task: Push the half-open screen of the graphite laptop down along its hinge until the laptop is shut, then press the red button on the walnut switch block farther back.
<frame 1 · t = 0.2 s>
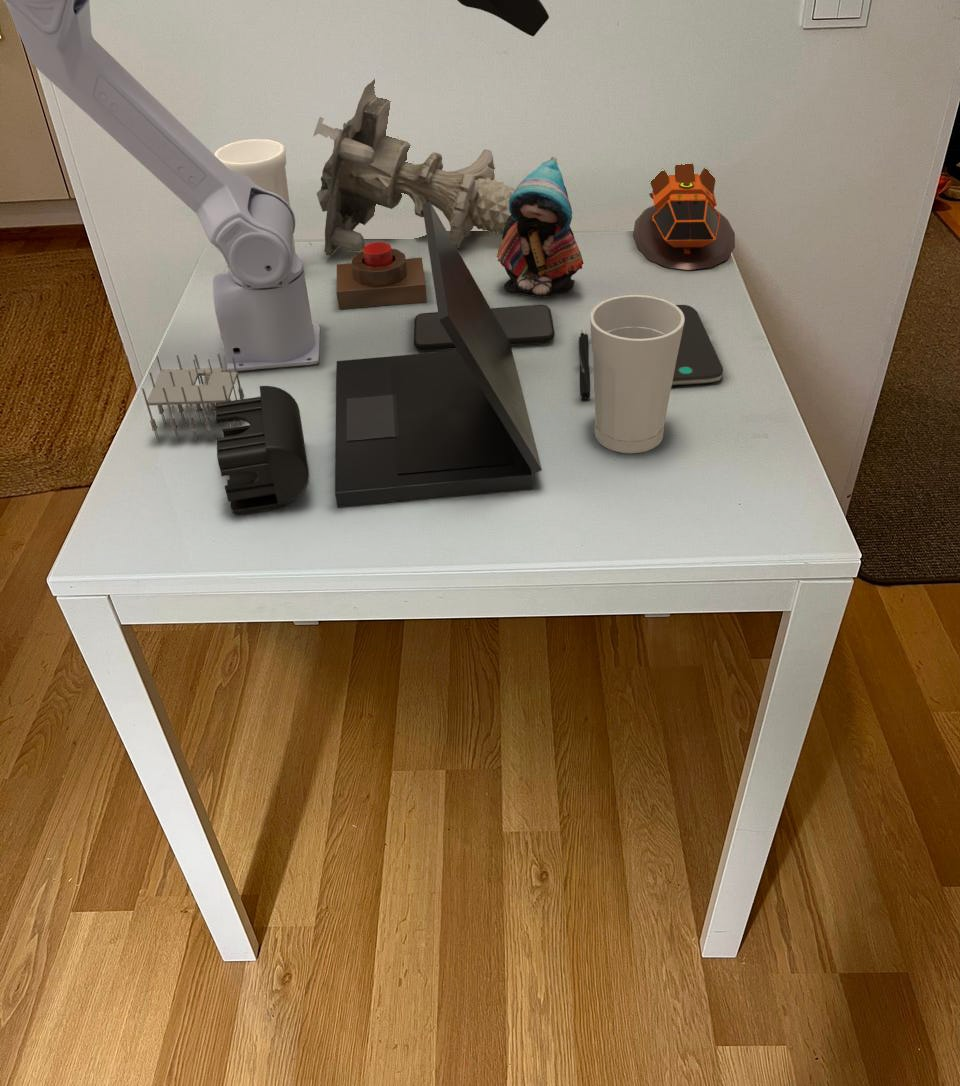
hand: (536, 12, 88), 31 cm above the table, tool tilted 45°, fingers open, 7 cm apart
end cap: (271, 480, 90), on the table
electrical cable: (584, 368, 102), on the table
laptop screen: (479, 333, 89), point 9 cm above the table, hinge at 65.0°
switch block: (382, 291, 116), on the table
figurine: (540, 294, 115), on the table
button: (378, 255, 113), point 4 cm above the table, slide at 0.1 cm
cup: (628, 435, 93), on the table
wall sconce: (414, 277, 124), on the table
smartphone 2: (672, 348, 104), on the table
toy spacecraft: (683, 235, 125), on the table
smartphone: (483, 332, 108), on the table
cup 2: (272, 272, 121), on the table
laptop: (427, 427, 95), on the table
building frame: (204, 425, 97), on the table
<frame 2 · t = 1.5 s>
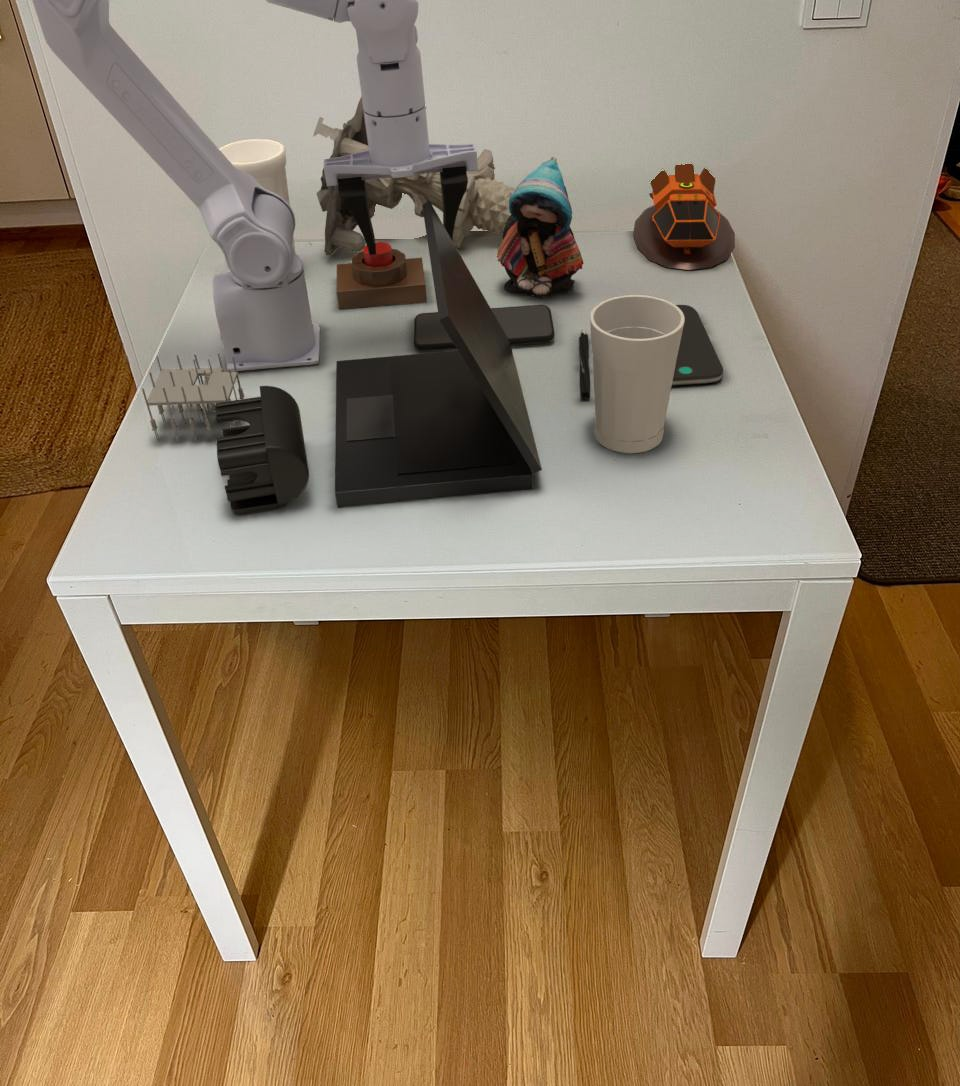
hand: (410, 246, 101), 10 cm above the table, tool pointing down, fingers open, 7 cm apart
nothing on the table moved.
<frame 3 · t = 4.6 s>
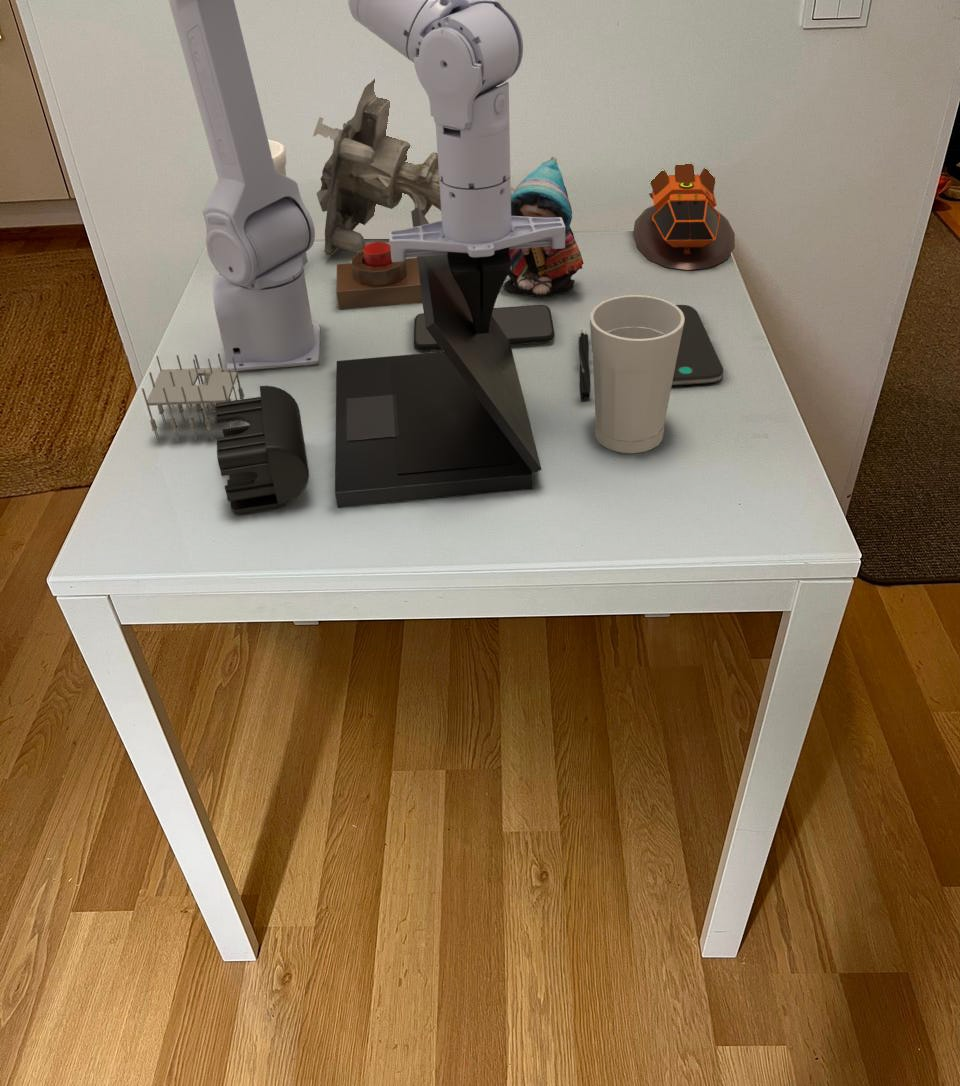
hand: (481, 328, 89), 10 cm above the table, tool pointing down, fingers closed
laptop screen: (473, 336, 89), point 9 cm above the table, hinge at 60.9°, touching gripper
everything else where it was.
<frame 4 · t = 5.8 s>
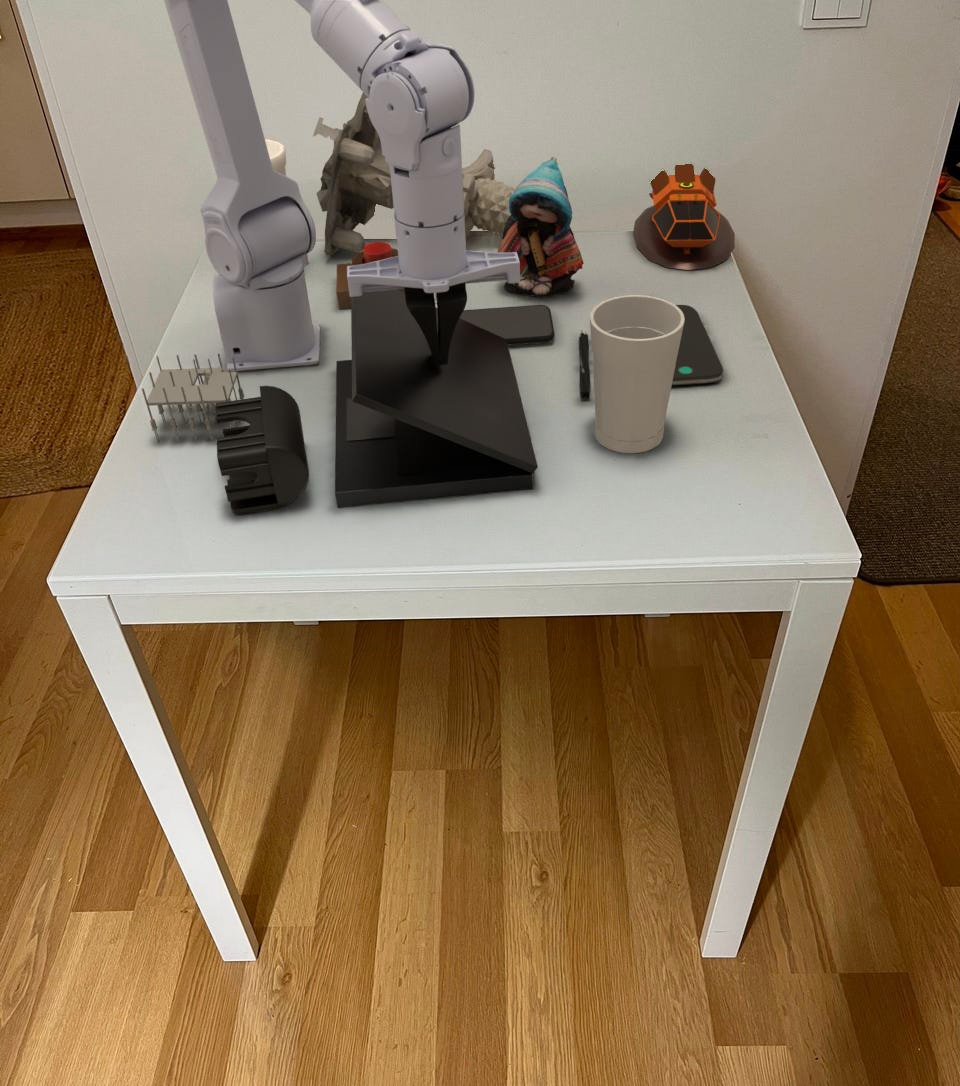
hand: (440, 359, 90), 7 cm above the table, tool pointing down, fingers closed
laptop screen: (438, 366, 91), point 6 cm above the table, hinge at 31.4°, touching gripper
everything else where it was.
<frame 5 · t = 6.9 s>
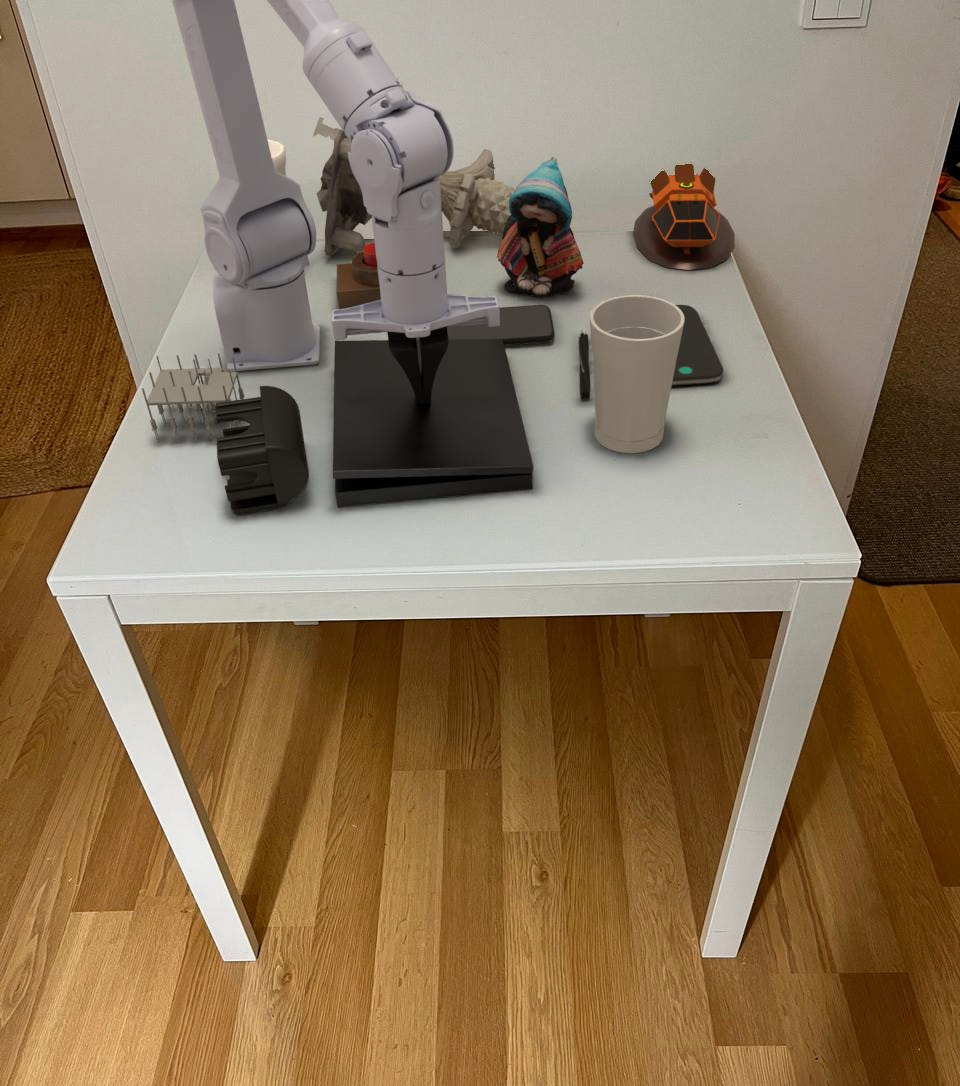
hand: (423, 398, 93), 3 cm above the table, tool pointing down, fingers closed, pressing on laptop screen
laptop screen: (426, 402, 93), point 3 cm above the table, hinge at 4.7°, touching gripper
everything else where it was.
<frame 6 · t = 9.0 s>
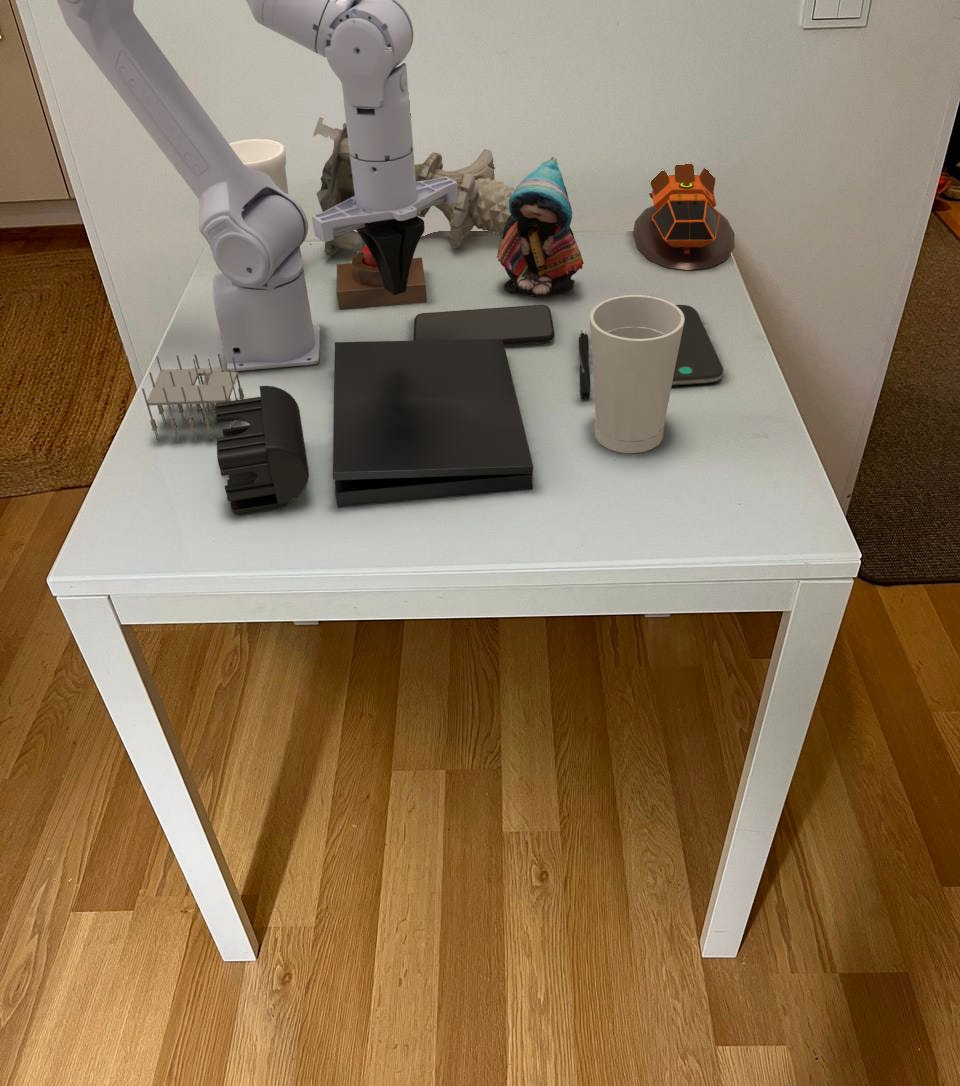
hand: (395, 289, 99), 8 cm above the table, tool pointing down, fingers closed
laptop screen: (426, 403, 93), point 3 cm above the table, hinge at 4.2°, touching laptop
everything else where it was.
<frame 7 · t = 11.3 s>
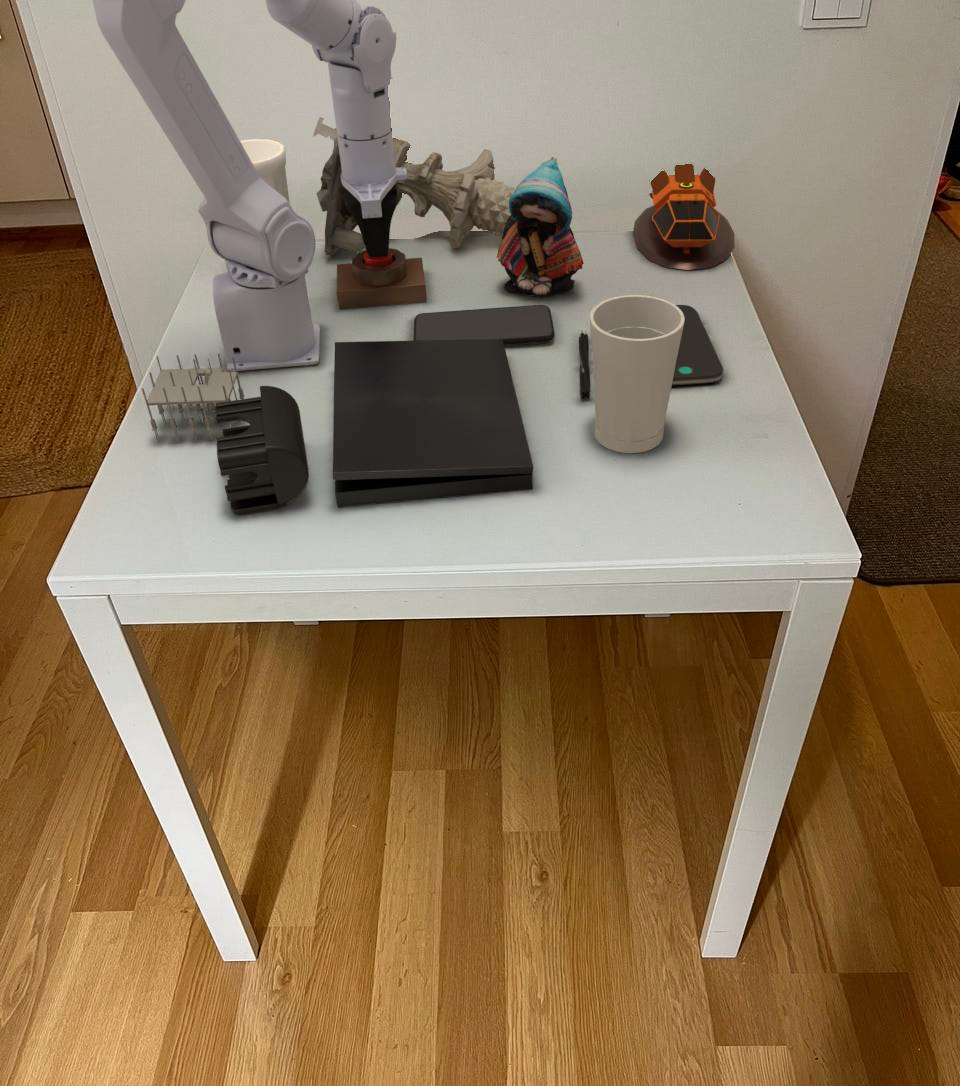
hand: (378, 254, 113), 5 cm above the table, tool pointing down, fingers closed, pressing on button
button: (378, 261, 114), point 4 cm above the table, slide at -0.6 cm, touching gripper
everything else where it was.
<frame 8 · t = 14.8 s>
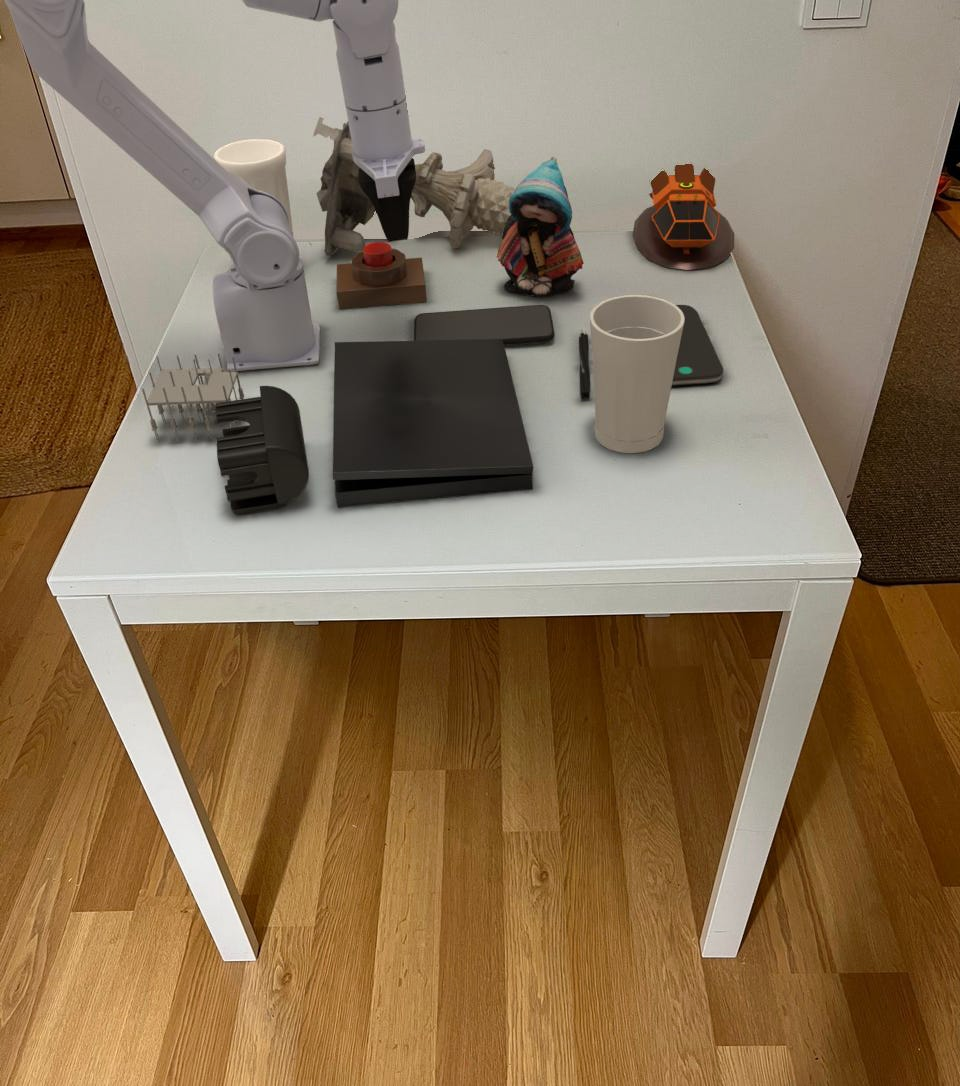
hand: (397, 237, 103), 10 cm above the table, tool pointing down, fingers closed
button: (378, 255, 113), point 4 cm above the table, slide at 0.1 cm
everything else where it was.
at the end: laptop screen at +4° (first picture: +65°); button pushed in 1.2 cm at the most during the clip, back to where it started at the end; button slide at 0.1 cm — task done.
